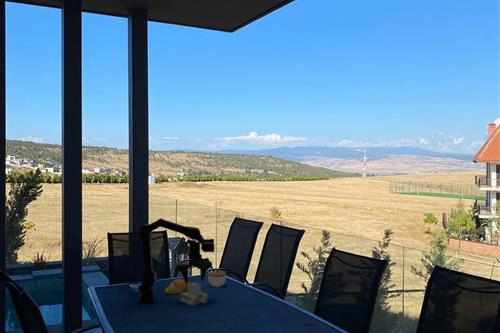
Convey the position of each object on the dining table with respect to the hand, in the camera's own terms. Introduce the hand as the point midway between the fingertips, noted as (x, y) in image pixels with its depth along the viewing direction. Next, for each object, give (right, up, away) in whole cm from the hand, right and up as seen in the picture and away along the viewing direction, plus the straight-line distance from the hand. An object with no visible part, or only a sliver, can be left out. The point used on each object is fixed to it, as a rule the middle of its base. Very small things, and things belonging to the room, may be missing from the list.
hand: (194, 282), depth 241 cm
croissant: (-12, -11, +21) cm, 27 cm away
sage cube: (0, -6, 0) cm, 6 cm away
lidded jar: (+9, -11, +33) cm, 36 cm away
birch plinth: (0, -10, 0) cm, 10 cm away
